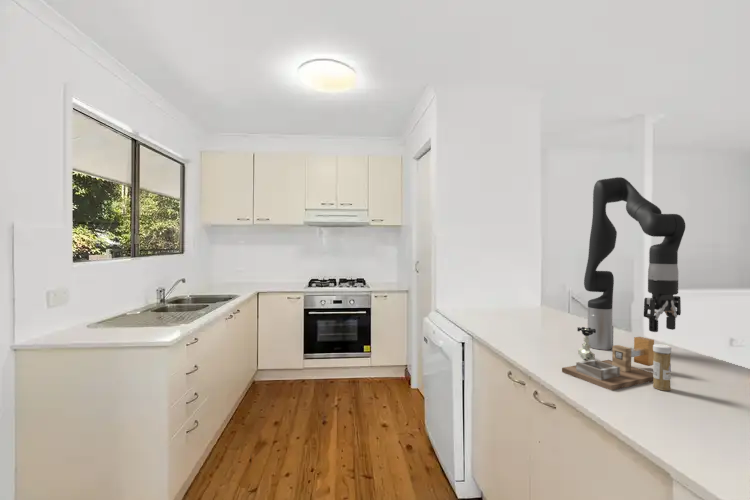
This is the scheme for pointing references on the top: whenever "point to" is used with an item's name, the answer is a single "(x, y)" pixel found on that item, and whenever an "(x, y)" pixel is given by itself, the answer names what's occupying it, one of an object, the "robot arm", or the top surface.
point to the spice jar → (661, 367)
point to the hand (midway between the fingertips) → (662, 330)
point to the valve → (586, 344)
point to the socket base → (610, 371)
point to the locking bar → (641, 351)
